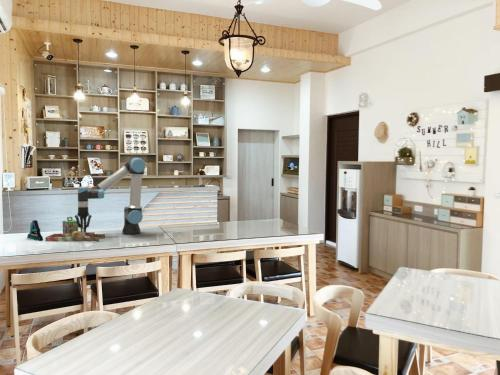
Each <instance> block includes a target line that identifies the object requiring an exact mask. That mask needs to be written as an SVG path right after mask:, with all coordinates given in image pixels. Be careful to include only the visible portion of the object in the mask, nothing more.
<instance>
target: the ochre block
mask: <svg viewBox="0 0 500 375" xmlns="http://www.w3.org/2000/svg"><path fill="white" fill-rule="evenodd" d="M72 237H82V232H81V230H78V231H75V232H73V233H72Z"/></svg>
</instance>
